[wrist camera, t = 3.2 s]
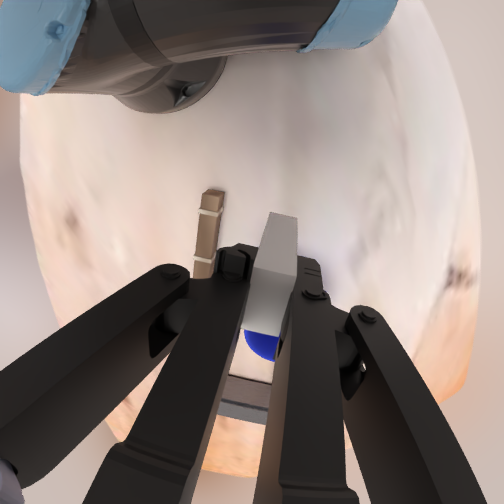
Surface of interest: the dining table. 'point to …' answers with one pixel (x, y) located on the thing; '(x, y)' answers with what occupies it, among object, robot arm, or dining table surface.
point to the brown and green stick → (207, 233)
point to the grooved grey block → (245, 400)
